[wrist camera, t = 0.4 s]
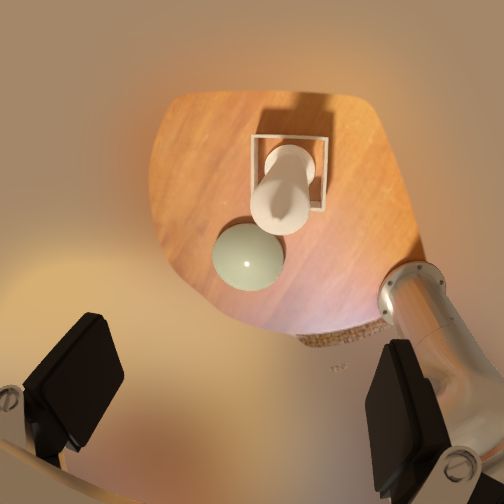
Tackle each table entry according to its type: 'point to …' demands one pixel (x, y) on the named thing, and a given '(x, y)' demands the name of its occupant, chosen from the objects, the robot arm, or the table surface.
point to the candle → (284, 191)
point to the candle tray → (254, 138)
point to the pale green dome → (248, 257)
